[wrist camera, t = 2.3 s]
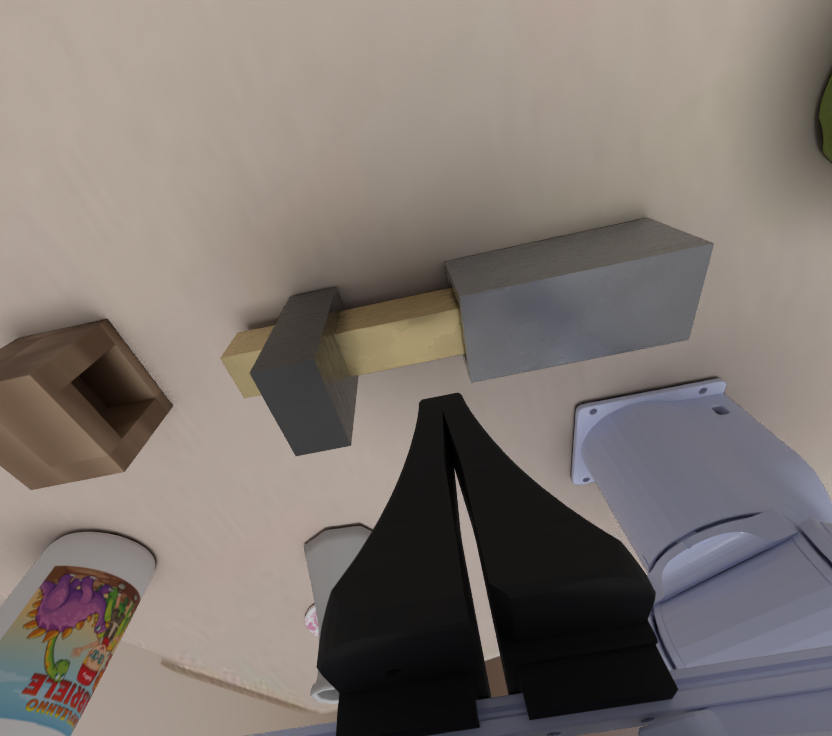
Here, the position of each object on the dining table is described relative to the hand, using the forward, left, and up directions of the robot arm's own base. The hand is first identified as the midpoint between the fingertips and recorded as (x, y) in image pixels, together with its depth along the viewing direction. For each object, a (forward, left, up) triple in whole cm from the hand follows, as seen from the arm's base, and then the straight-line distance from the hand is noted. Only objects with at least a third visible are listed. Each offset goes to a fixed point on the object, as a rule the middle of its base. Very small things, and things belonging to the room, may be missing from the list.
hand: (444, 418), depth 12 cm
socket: (+18, 0, -9) cm, 20 cm away
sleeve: (-7, 0, -9) cm, 11 cm away
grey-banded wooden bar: (-1, 0, -9) cm, 9 cm away
